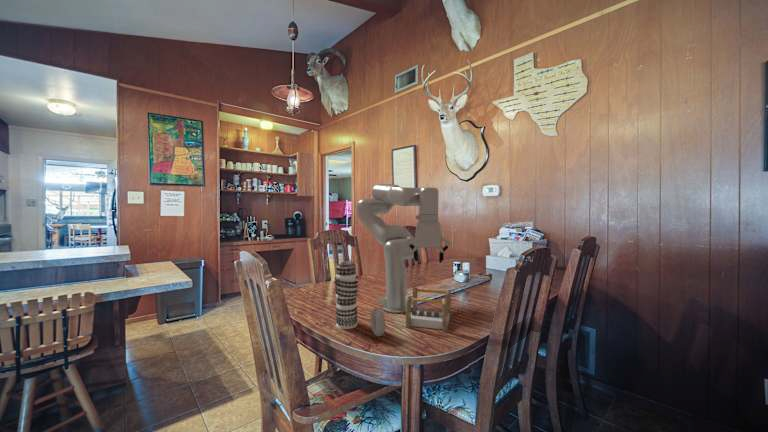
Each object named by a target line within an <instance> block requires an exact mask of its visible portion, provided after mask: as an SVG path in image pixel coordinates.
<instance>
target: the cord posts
mask: <svg viewBox="0 0 768 432" xmlns="http://www.w3.org/2000/svg"><path fill="white" fill-rule="evenodd" d="M417 289H418V287H417V286H414V287H412V296H411V295H407V296H406V312H405V328H406V329H411V328H412V326H411V312H412V309H413V308H414V309H417V310H418V301H411V300H410V299H411V298H418V292H417ZM445 291H446V294H445V298H442V300H441V301H442V302H443V303H441V305H442V307H441V309H442V311H441V312H442V329H441V331H442V332H443V333H448V331H449V324H448V313H449V321H450V320H451V319H452V291H451V289H446V290H445Z"/></svg>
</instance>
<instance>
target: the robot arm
mask: <svg viewBox="0 0 768 432" xmlns="http://www.w3.org/2000/svg"><path fill="white" fill-rule="evenodd" d="M371 195H372V198H370V197H369V198H368V197H367V198H362V199H360V200H359V201H358V202H357V203H356V209H355V210H356V214H357V217H358V219H359V222H361V224H363V226H364V227H365V228H367V230H368V231H369V233H370V234H371V235H372V237H374V239H375V240H376V241H377V242H378V244H380V245H382V246H383V247H382V248H383V256H384V261H385V262H384V263H385V297H377V303H379V304H383V305H382V309H383V311H385V312H388V313H392V314H393V313H394V314H395V313H396V314H400V313H401V314H402V313H406V296H408V285H407V284H408V281H407V280H408V272H407V270H408V269H407V267H406V265H405V263H404V262H403V261H404V260H411V259H413V260H414V262H418V261H419V254H420V251H421V248H424V249H437V250H439V253H438V255H439V258H438V260H439V261H438V262H439V264H441V263H442V262H443V261H444V258H445V256H444V255H445V254H444V252H445V251H447V250H448V249H449V247H450V245H451V243H452V241H451V240H449V239H447V238H446V237H443V235H442V227H441V223H440V222H439V189H438V188H437V187H404V186H403V187H402V186H400V185H398V184H394V183H392V184H391V183H377V184H376V185H374V186H373V187H372V189H371ZM394 206H401V207H413V206H414V207H418V210H419V211H418V212H419V213H418V215H415V220H418V221H417V222H416V227H415V234H414V235H415V236H413V235H412V233H410V231H409V230H407V228H406V227H404V226H403V225H400V224H397V225H395V224H394V225H393V224H391V225H389V224H387V223H386V222H385V221H384V219H382V217H380V216H381V215H386V214H388V213H390V211H391V210H392V209H393V208H394ZM378 215H380V216H378ZM442 242H444V243H445V244H446V245H445V246H442Z"/></svg>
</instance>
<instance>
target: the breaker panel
mask: <svg viewBox="0 0 768 432" xmlns="http://www.w3.org/2000/svg"><path fill="white" fill-rule="evenodd" d="M449 322H450V320H449V313H448V325H449ZM411 327H419V328H428V329H433V330H434V329H435V330H442V311H441V312H440V310H436V309H435V311H432V309H427V310H425V308H424V309H423V308H420V309H418V308H417V309H414V308H413V307H412V308H411Z"/></svg>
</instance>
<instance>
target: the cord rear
mask: <svg viewBox="0 0 768 432" xmlns="http://www.w3.org/2000/svg"><path fill="white" fill-rule="evenodd" d="M418 292H419V293H431V294H443V295H446V290H435V289H424V288H421V289H420V288H419V289H418V288H417V293H418Z"/></svg>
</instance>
